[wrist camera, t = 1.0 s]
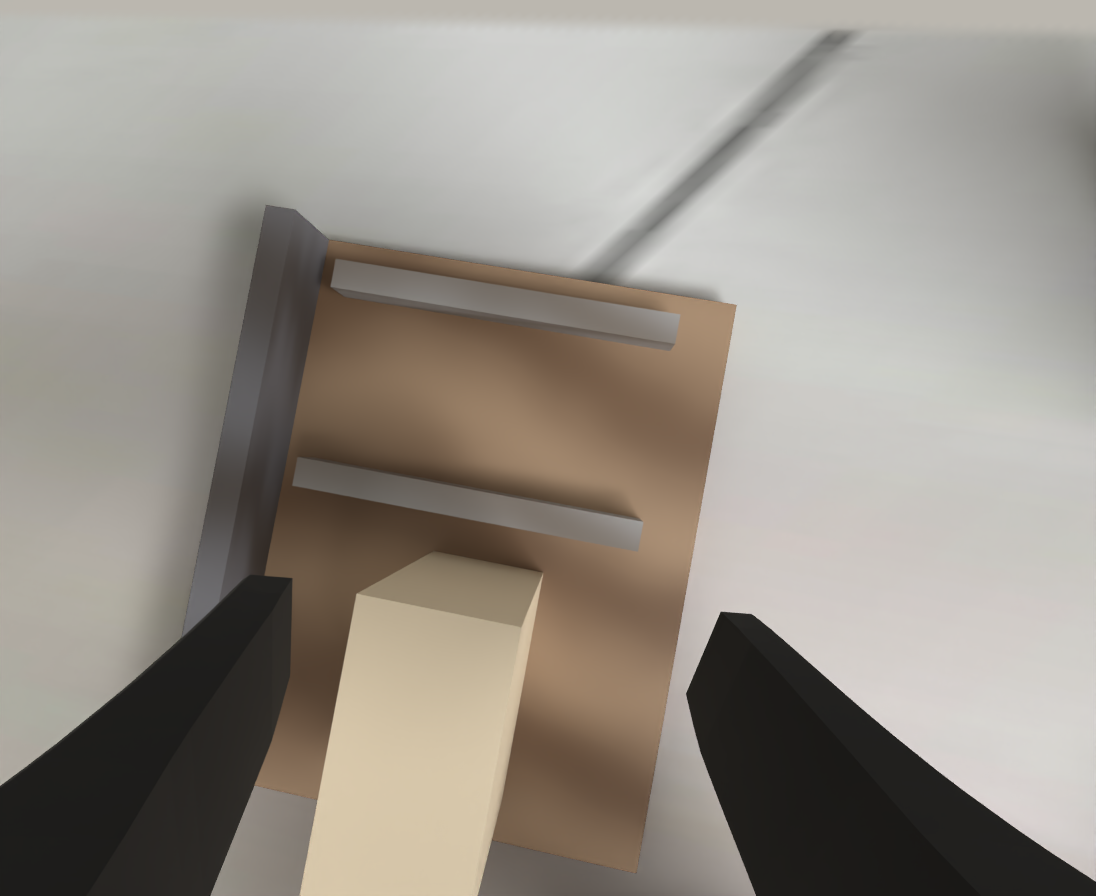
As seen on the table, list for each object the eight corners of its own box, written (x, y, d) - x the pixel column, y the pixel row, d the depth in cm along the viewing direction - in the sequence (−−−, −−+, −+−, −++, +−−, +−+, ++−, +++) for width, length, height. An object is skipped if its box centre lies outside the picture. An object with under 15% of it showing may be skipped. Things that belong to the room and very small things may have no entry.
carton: (501, 803, 20) (456, 980, 13) (391, 778, 21) (291, 939, 14) (543, 572, 20) (521, 627, 13) (433, 551, 21) (356, 593, 14)
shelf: (633, 854, 21) (643, 931, 17) (211, 757, 22) (141, 812, 18) (729, 312, 21) (757, 282, 18) (311, 245, 22) (260, 204, 19)
